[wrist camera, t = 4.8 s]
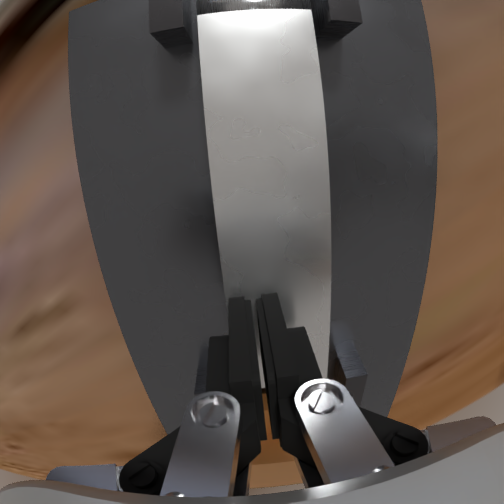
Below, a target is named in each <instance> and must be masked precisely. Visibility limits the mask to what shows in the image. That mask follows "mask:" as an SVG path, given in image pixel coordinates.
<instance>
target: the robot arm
mask: <svg viewBox="0 0 504 504" xmlns="http://www.w3.org/2000/svg"><path fill="white" fill-rule="evenodd" d="M256 308H257V319H258V329H259V339H260V349H261V359H262V367H263V375H264V382H265V389H266V396H267V403H268V411H269V418H270V425H271V432H272V439H279V441H280V447H282V450H284V451H286V452H287V453H289V454H291V455H293V456H294V461H295V463H296V466H297V468H298V471H299V474H300V476H301V479H302V481H303V484H304V486H305V489H301V490H295V491H288V492H280V493H272V494H262V495H252V496H248V495H249V486H250V477H251V468H252V464H251V461H252V460H254V459H255V458H256V457H257V456H258V455H259V454H260V453H261V441H264V440H267V434H266V425H265V415H264V406H263V397H262V388H261V379H260V370H259V362H258V354H257V346H256V338H255V330H254V322H253V313H252V305H251V300H245V298H244V296H240V297H230V298H229V299H228V324H229V335H223V336H211V337H210V338H209V348H208V361H207V376H206V392H205V393H202V394H200V395H198V396H196V397H195V398H193V399H192V400H191V401H190V402H189V404H188V406H187V407H186V410H185V413H184V416H183V419H182V423H181V426H179V427H178V428H177V429H175V430H174V431H173V432H171V433H170V434H168V435H167V436H166V437H164V438H163V439H161V440H160V441H158V442H157V443H156V444H154V445H153V446H151V447H150V448H148V449H147V450H145V451H144V452H142V453H141V454H139V455H138V456H136V457H135V458H133V459H132V460H130V461H129V462H128V463H127V464H125V465H124V466H119V467H118V466H117V465H116V464H108V465H91V466H61V467H56V468H55V469H53V470H51V471H50V473H49V474H48V475H47V478H46V480H29V481H21V482H16V483H12V484H9V485H7V486H5V487H3V488H2V489H1V490H0V504H504V423H503V424H499V425H496V424H495V422H493V421H492V420H491V419H490V418H487V417H483V416H482V417H474V418H470V419H465V420H460V421H456V422H451V423H445V424H440V425H433V426H427V427H426V429H425V430H419V429H417V428H415V427H412V426H409V425H407V424H404V423H401V422H398V421H395V420H393V419H390V418H387V417H385V416H382V415H379V414H377V413H374V412H372V411H369V410H366V409H364V408H361V407H359V406H357V405H356V403H355V401H354V400H353V398H352V397H351V395H350V393H349V392H348V390H347V389H346V388H345V387H344V386H343V385H342V384H340V383H339V382H337V381H334V380H330V379H323V378H322V375H321V372H320V369H319V366H318V363H317V360H316V357H315V354H314V352H313V349H312V346H311V343H310V340H309V337H308V334H307V332H306V329H305V327H304V326H301V327H294V328H287V327H286V323H285V319H284V316H283V312H282V308H281V305H280V301H279V297H278V294H277V292H276V293H267V294H261V298H260V299H256Z"/></svg>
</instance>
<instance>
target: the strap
mask: <svg viewBox="0 0 504 504" xmlns="http://www.w3.org/2000/svg"><path fill="white" fill-rule="evenodd" d="M196 9H197V22H198V38H199V53H200V66H201V79H202V92H203V104H204V115H205V126H206V137H207V147H208V157H209V167H210V176H211V186H212V195H213V204H214V212H215V221H216V229H217V237H218V246H219V253H220V261H221V269H222V277H223V284H224V292H225V299H226V306H227V313H228V299H229V298H230V297H240V296H244V298H245V300H251V305H252V313H253V322H254V330H255V338H256V346H257V354H258V362H259V370H260V379H261V388H265V382H264V375H263V367H262V359H261V349H260V339H259V329H258V319H257V308H256V299H260V298H261V294H267V293H276V292H277V294H278V297H279V301H280V305H281V308H282V312H283V316H284V319H285V323H286V327H287V328H294V327H301V326H304V327H305V329H306V332H307V334H308V337H309V340H310V343H311V346H312V349H313V352H314V354H315V357H316V360H317V363H318V366H319V369H320V372H321V375H322V378H323V379H327V370H328V354H329V336H330V310H331V207H330V182H329V163H328V148H327V134H326V122H325V111H324V101H323V91H322V82H321V74H320V65H319V58H318V50H317V43H316V37H315V30H314V24H313V18H312V12H311V1H310V0H196Z"/></svg>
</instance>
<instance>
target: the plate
mask: <svg viewBox="0 0 504 504" xmlns="http://www.w3.org/2000/svg"><path fill="white" fill-rule="evenodd" d="M310 1H311V12H312V18H313V24H314V30H315V37H316V43H317V50H318V58H319V65H320V74H321V82H322V91H323V101H324V111H325V122H326V134H327V148H328V163H329V182H330V207H331V310H330V336H329V354H328V370H327V379H330V380H334V381H337V382H339V383H340V384H342V385H343V386H344V387H345V388H346V389H347V390H348V392H349V393H350V395H351V397H352V398H353V400H354V401H355V403H356V405H357V406H359V407H361V408H364V409H366V410H369V411H372V412H374V413H377V414H379V415H382V416H385V417H387V416H388V413H389V411H390V408H391V405H392V402H393V400H394V397H395V394H396V391H397V388H398V385H399V382H400V379H401V376H402V373H403V369H404V366H405V363H406V359H407V356H408V352H409V349H410V345H411V341H412V338H413V334H414V330H415V326H416V322H417V317H418V313H419V308H420V304H421V299H422V294H423V289H424V284H425V278H426V273H427V267H428V260H429V253H430V246H431V239H432V230H433V221H434V210H435V198H436V181H437V112H436V95H435V83H434V73H433V65H432V57H431V50H430V43H429V37H428V31H427V26H426V21H425V16H424V11H423V6H422V2H421V0H310ZM68 67H69V90H70V104H71V116H72V126H73V135H74V143H75V150H76V157H77V163H78V170H79V176H80V181H81V187H82V192H83V197H84V202H85V207H86V212H87V216H88V220H89V225H90V229H91V233H92V237H93V241H94V245H95V249H96V253H97V256H98V260H99V264H100V267H101V271H102V274H103V277H104V281H105V284H106V287H107V290H108V294H109V297H110V300H111V303H112V306H113V309H114V312H115V314H116V317H117V320H118V323H119V326H120V329H121V331H122V334H123V337H124V339H125V342H126V344H127V347H128V350H129V352H130V355H131V357H132V359H133V362H134V364H135V367H136V369H137V371H138V374H139V376H140V378H141V381H142V383H143V385H144V387H145V390H146V392H147V394H148V396H149V398H150V400H151V403H152V405H153V407H154V409H155V411H156V413H157V415H158V417H159V419H160V421H161V423H162V425H163V427H164V429H165V431H166V433H167V434H170V433H171V432H173V431H174V430H175V429H177V428H178V427H179V426H181V423H182V419H183V416H184V413H185V410H186V407H187V406H188V404H189V402H190V401H191V400H192V399H193V398H195V397H196V396H198V395H200V394H202V393H205V392H206V376H207V361H208V348H209V338H210V337H211V336H223V335H229V324H228V313H227V306H226V299H225V292H224V284H223V277H222V269H221V261H220V253H219V246H218V237H217V229H216V221H215V212H214V204H213V195H212V186H211V176H210V167H209V157H208V147H207V137H206V126H205V115H204V104H203V92H202V79H201V66H200V53H199V38H198V22H197V9H196V0H99V1H96V2H93V3H90V4H88V5H85V6H82V7H80V8H77V9H75V10H72V11H70V12H69V31H68ZM262 394H266V389H265V388H262Z"/></svg>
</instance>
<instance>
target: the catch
mask: <svg viewBox="0 0 504 504" xmlns="http://www.w3.org/2000/svg"><path fill="white" fill-rule="evenodd" d="M262 397H263V406H264V415H265V425H266V434H267V440H264V441H261V453H260V454H259V455H258V456H257V457H256V458H255V459H254V460H252V461H251V464H252V468H251V477H250V486H249V488H264V487H275V486H284V485H293V484H300V483H303V481H302V479H301V476H300V474H299V471H298V468H297V466H296V463H295V461H294V456H293V455H291V454H289V453H287V452H286V451H284V450H282V447H280V441H279V439H272V432H271V425H270V418H269V411H268V403H267V396H266V394H262Z"/></svg>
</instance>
